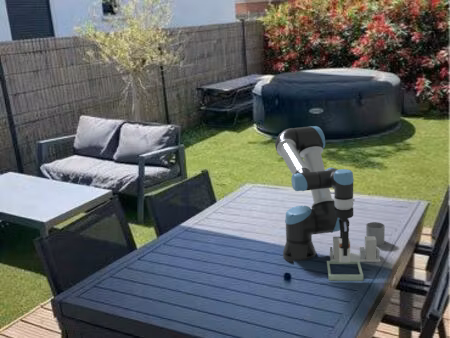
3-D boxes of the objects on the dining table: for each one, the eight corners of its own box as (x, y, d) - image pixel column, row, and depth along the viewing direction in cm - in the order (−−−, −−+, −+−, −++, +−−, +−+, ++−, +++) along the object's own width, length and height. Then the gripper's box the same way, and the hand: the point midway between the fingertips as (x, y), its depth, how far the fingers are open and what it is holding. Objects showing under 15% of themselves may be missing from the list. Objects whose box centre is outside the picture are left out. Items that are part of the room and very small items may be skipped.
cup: (364, 247, 236) (364, 227, 233) (368, 240, 243) (368, 221, 240) (382, 249, 232) (382, 229, 229) (385, 242, 239) (386, 223, 236)
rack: (330, 264, 220) (330, 253, 219) (329, 255, 229) (329, 244, 227) (380, 264, 217) (380, 253, 215) (377, 255, 225) (377, 244, 224)
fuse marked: (339, 262, 208) (339, 242, 206) (338, 257, 212) (338, 238, 210) (350, 262, 207) (350, 242, 205) (349, 257, 211) (349, 238, 209)
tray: (328, 280, 206) (328, 275, 205) (326, 266, 219) (326, 260, 218) (363, 281, 203) (363, 275, 203) (359, 266, 217) (359, 260, 216)
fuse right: (366, 259, 220) (366, 240, 217) (364, 254, 224) (364, 236, 222) (376, 259, 219) (376, 240, 217) (374, 254, 223) (374, 236, 221)
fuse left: (333, 259, 222) (333, 240, 220) (333, 255, 226) (332, 236, 224) (343, 259, 221) (343, 240, 219) (343, 255, 225) (342, 236, 223)
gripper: (355, 214, 195) (355, 268, 200) (351, 200, 212) (351, 250, 217) (336, 214, 196) (336, 268, 202) (333, 200, 213) (334, 250, 218)
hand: (344, 259), depth 209 cm, fingers closed on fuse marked, 4 cm apart
